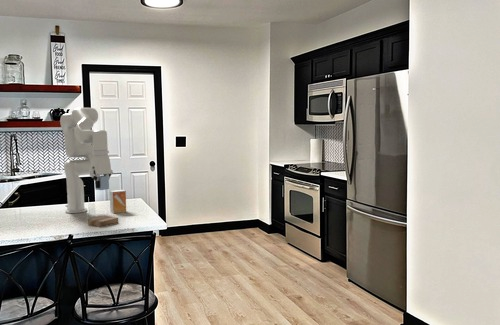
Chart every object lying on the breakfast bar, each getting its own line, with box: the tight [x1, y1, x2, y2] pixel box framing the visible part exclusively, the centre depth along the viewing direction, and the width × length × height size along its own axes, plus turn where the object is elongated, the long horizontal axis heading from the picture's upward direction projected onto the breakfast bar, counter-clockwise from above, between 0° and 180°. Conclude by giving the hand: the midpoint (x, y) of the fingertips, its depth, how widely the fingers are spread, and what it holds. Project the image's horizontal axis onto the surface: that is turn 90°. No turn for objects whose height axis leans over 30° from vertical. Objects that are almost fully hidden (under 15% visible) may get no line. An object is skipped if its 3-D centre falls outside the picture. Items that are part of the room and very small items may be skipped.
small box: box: [109, 189, 127, 214], centre depth 280 cm, size 8×6×13 cm
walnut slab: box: [87, 215, 119, 228], centre depth 248 cm, size 11×11×3 cm
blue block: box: [94, 175, 110, 191], centre depth 247 cm, size 5×5×7 cm
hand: (102, 186), depth 247 cm, fingers closed on blue block, 5 cm apart
